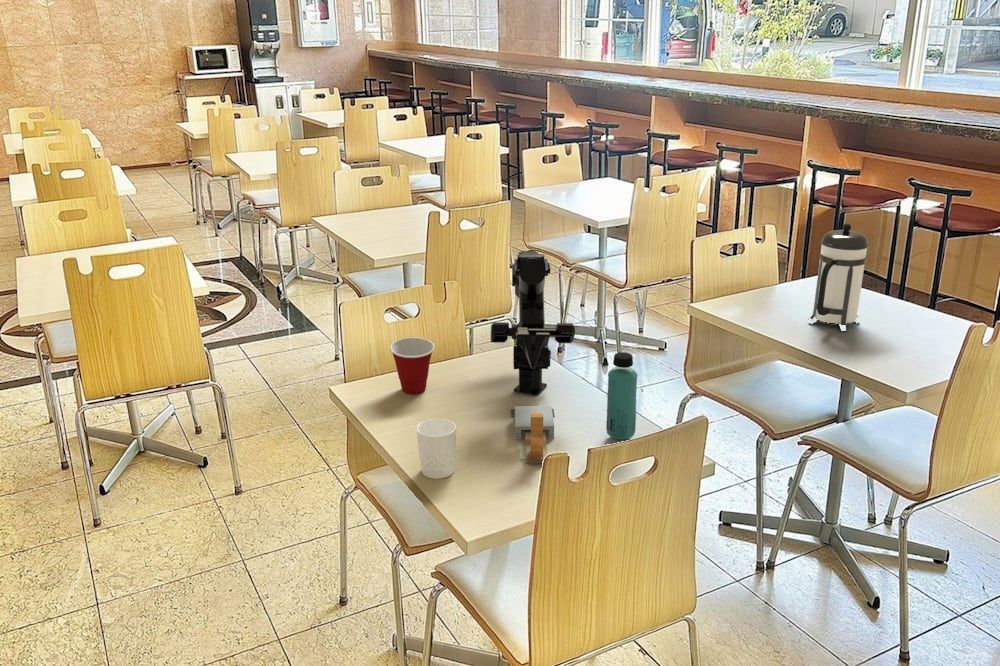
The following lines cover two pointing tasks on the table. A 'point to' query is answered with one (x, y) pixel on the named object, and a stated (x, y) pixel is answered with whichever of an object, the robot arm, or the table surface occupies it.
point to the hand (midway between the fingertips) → (533, 368)
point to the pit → (514, 413)
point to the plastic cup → (412, 362)
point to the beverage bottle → (621, 397)
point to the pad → (523, 451)
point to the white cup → (437, 447)
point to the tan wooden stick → (535, 439)
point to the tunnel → (525, 419)
